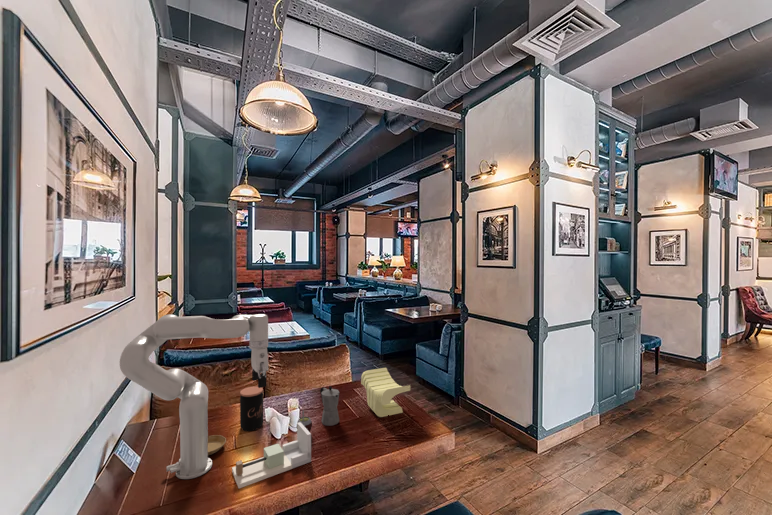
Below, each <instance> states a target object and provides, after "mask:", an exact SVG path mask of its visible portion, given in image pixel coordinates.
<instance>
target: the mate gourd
mask: <svg viewBox="0 0 772 515" xmlns="http://www.w3.org/2000/svg"><path fill="white" fill-rule="evenodd" d="M301 414H302V416H301V417H300V418H298V420H297V422H296V424H297V423H299V422H301V423H302V424H303V425H304V427H305V428H306V429H307V430H308V431H309V432H310V433H311V431H312V427H313V422H312V419H311V417H309V416H305V410H304V409H302V413H301Z"/></svg>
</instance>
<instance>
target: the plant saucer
mask: <svg viewBox="0 0 772 515" xmlns="http://www.w3.org/2000/svg"><path fill="white" fill-rule="evenodd" d="M226 442H227V438H226V437H225V436H223V435H221V434H219V435H218V434H213V435H208V456H210V455H213V454H215V453H217V452H218V451H220V450H221V449H222V448H223V446H225V444H226Z"/></svg>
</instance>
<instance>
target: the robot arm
mask: <svg viewBox="0 0 772 515" xmlns="http://www.w3.org/2000/svg"><path fill="white" fill-rule="evenodd" d="M248 333H249V334H248ZM247 334H248V336H249V341H248V342H249V349H250V350H251V368H252V369H251V371H252V372H251V376H252V378H251V379H252V382H253V381H254V382H255V381H257V387H258V388H261V387H262V388H265V387H267V372H268V371H269V356H268V347H269V316H268V314H265V313H258V314H257V313H256V314H237V315H234V316H232V317H231V318H229V319H219V318H218V319H217V318H216V319H215V318H211V317H208V316H206V315H191V316H178V315H175V314H165V315H163V316H160V317H159V318H158V319H157V320H156V321H155V322H154V323H152V325H150V326H149V327H148V328H146V329H145V330H144V331H142V332H141V333H140V334H138V335H137V336H136V337H135V338H133V339H132V340H131V341H130V342H129V343H128V344H126V346H125V347H124V348H123V350H122V352H121V355H120V358H119V368H120V371H121V373H122V374H123V375H124V377H126V378H127V379H128V380H130V381H132V382H133V383H135V384H137V385H139V386H140V387H141V388H143V389H145V390H147V391H149V392H150V393H152V394H154V395H155V396H157V397H158V398H159V399H161V400H165V401H172V400H173V401H174V400H175V399H177V398H178V399H180V402H179V407H178V413H179V436H180V439H179V440H180V441H179V442H180V443H179V444H180V445H179V448H180V452H179V454H180V455H179V456H180V458H179V459H178V461H177V462H175V463H174V464H169V465H167V466H166V472H170V474H173V473H175V476H176V477H177V478H178V479H180V480H191V479H195V478H198V477H201V476H202V475H204V474H206V473H208V471H209V470H211V468H212V467H213V460H212V459H211V458H210V457H209V455H208V436H209V431H208V430H209V428H208V425H209V424H208V422H209V419H208V418H209V417H208V404H209V403H208V402H209V388H208V386H207V384H205V383H204V382H203V381H201V380H200V379H198V378H197V377H195V376H194V375H192V374H190V373H189V372H187V371H185V370H183V369H181V368H176V367H175V368H170V369H167V370H166V369H165V368H163V367H162V366H161V365H159V364H156V363H154V362H152V361H151V360H150V357H151V355H152V354H153V353H154V351H156V350H157V349H158V348H160V346H162V345H163V344H164V343H165V342H166V341H168V340H178V339H195V338H203V339H235V338H237V339H238V338H242V337H244V336H246V335H247Z"/></svg>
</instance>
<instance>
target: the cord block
mask: <svg viewBox="0 0 772 515" xmlns="http://www.w3.org/2000/svg"><path fill="white" fill-rule="evenodd" d="M263 457H264V458H262V457H261V458H262V459H259V458H258V459H259V460H256V459H255V460H256V461H253V460H252V461H253V462H250V461H249V462H250V463H247V462H246V463H247V464H244V463H243V461H242V460H241V459H240V460H238V461H236V462H235V466H236V474H237V476H238V475H241V474H243V468H244V467H247V466H250V465H253V464H256V463H259V462H261V461H264V462H265V464H266V465H267V467H268V469H271V468H273V467H276V466H279V465H282V464H284V451H283V448H282V447H281V445H280V443H274V444H272V445H269V446H266V447H263ZM243 464H244V465H243Z"/></svg>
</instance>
